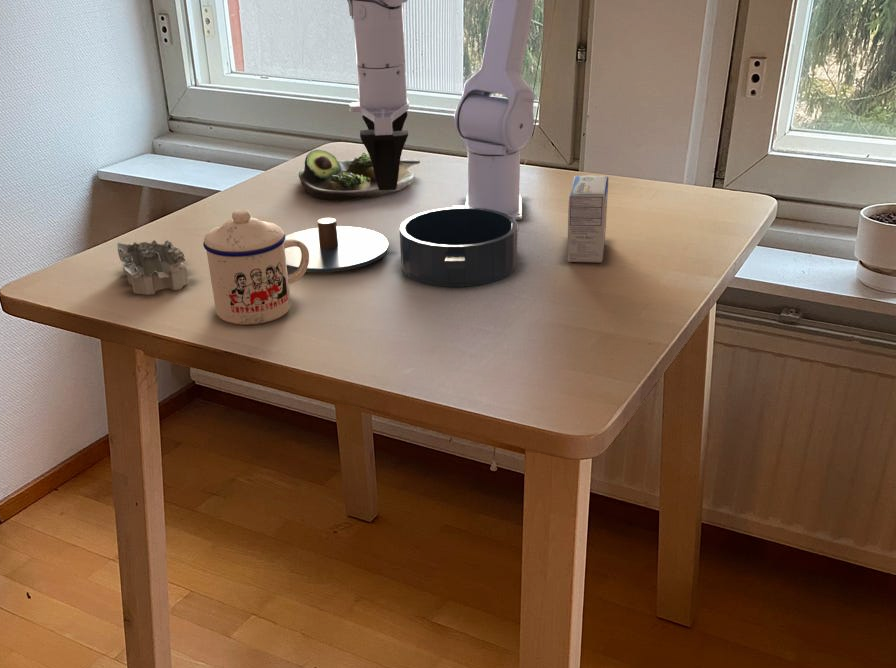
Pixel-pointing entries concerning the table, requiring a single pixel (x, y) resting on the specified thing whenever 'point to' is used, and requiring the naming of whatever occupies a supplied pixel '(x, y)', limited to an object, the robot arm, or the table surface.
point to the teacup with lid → (251, 269)
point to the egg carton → (153, 266)
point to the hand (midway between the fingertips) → (387, 179)
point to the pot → (458, 246)
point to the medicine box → (587, 219)
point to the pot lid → (336, 247)
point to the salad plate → (346, 177)
